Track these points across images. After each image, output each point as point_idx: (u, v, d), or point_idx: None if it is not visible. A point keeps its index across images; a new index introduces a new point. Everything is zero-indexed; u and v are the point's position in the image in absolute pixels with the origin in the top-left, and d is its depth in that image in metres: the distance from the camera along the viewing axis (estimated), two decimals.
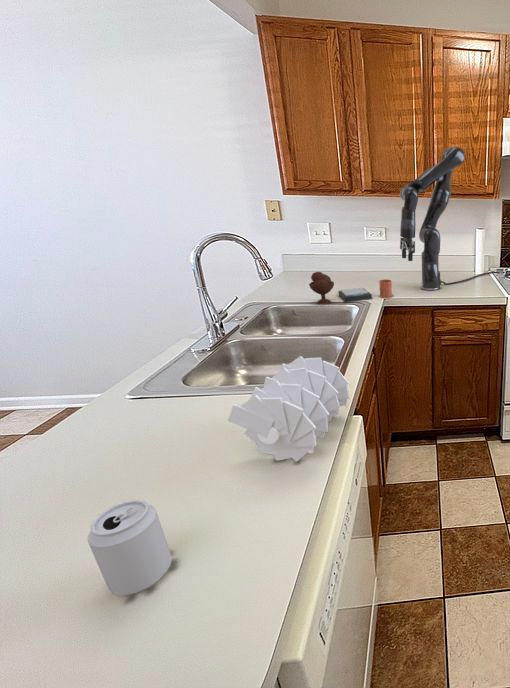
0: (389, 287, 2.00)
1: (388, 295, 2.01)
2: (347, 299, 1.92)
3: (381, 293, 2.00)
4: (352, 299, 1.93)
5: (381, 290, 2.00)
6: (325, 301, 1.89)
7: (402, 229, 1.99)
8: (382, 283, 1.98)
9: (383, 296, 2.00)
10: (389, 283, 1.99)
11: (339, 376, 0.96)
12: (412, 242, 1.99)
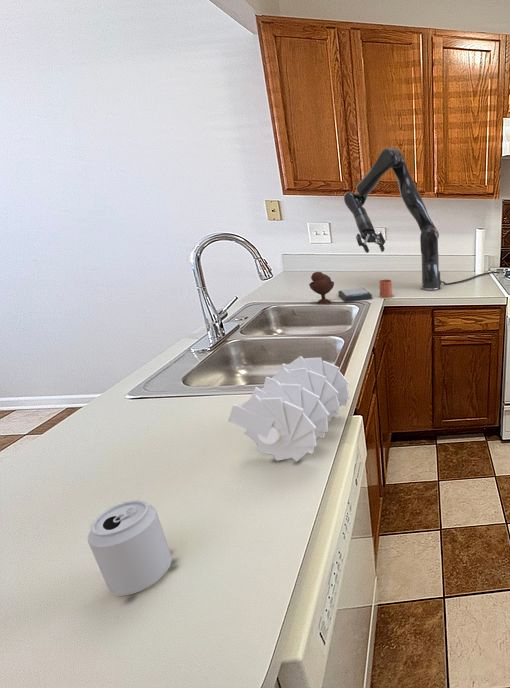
0: (389, 287, 2.00)
1: (388, 295, 2.01)
2: (347, 299, 1.92)
3: (381, 293, 2.00)
4: (352, 299, 1.93)
5: (381, 290, 2.00)
6: (325, 301, 1.89)
7: None
8: (382, 283, 1.98)
9: (383, 296, 2.00)
10: (389, 283, 1.99)
11: (339, 376, 0.96)
12: (356, 236, 2.01)
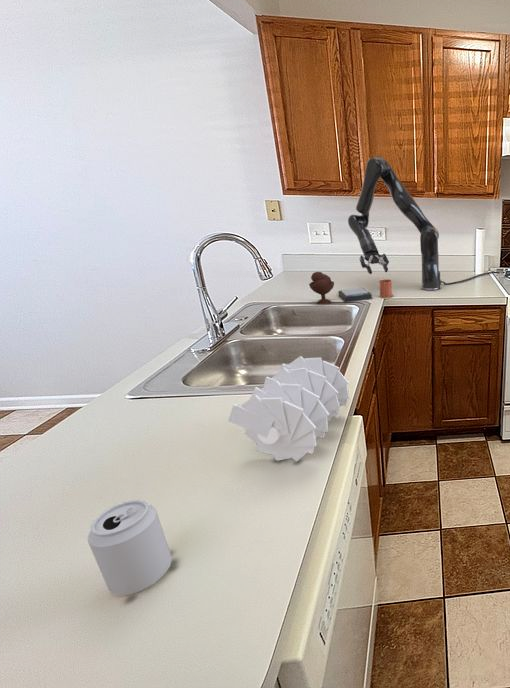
0: (389, 287, 2.00)
1: (388, 295, 2.01)
2: (347, 299, 1.92)
3: (381, 293, 2.00)
4: (352, 299, 1.93)
5: (381, 290, 2.00)
6: (325, 301, 1.89)
7: None
8: (382, 283, 1.98)
9: (383, 296, 2.00)
10: (389, 283, 1.99)
11: (339, 376, 0.96)
12: (360, 258, 2.03)
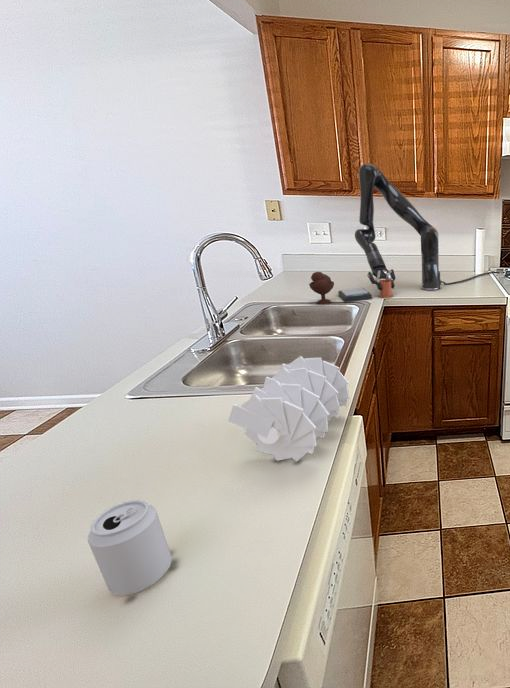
0: (389, 287, 2.00)
1: (388, 295, 2.01)
2: (347, 299, 1.92)
3: (381, 293, 2.00)
4: (352, 299, 1.93)
5: (381, 290, 2.00)
6: (325, 301, 1.89)
7: None
8: (382, 283, 1.98)
9: (383, 296, 2.00)
10: (389, 283, 1.99)
11: (339, 376, 0.96)
12: (368, 274, 1.99)
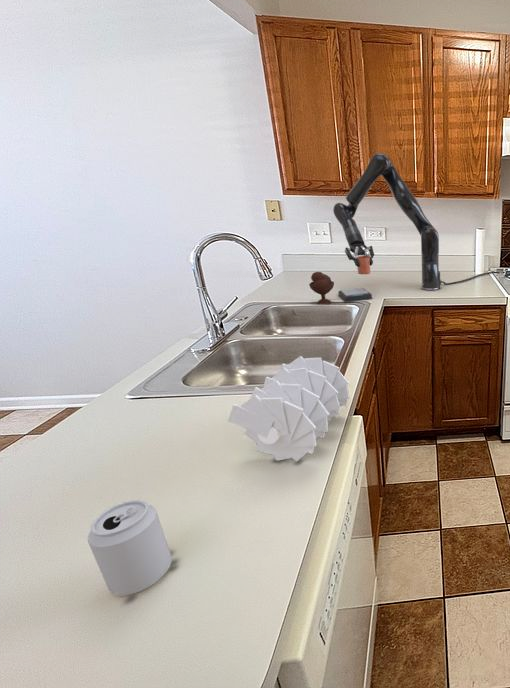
0: (367, 263, 1.94)
1: (366, 272, 1.95)
2: (347, 299, 1.92)
3: (359, 270, 1.94)
4: (352, 299, 1.93)
5: (359, 266, 1.94)
6: (325, 301, 1.89)
7: None
8: (359, 259, 1.92)
9: (361, 273, 1.94)
10: (367, 259, 1.93)
11: (339, 376, 0.96)
12: (345, 250, 1.93)
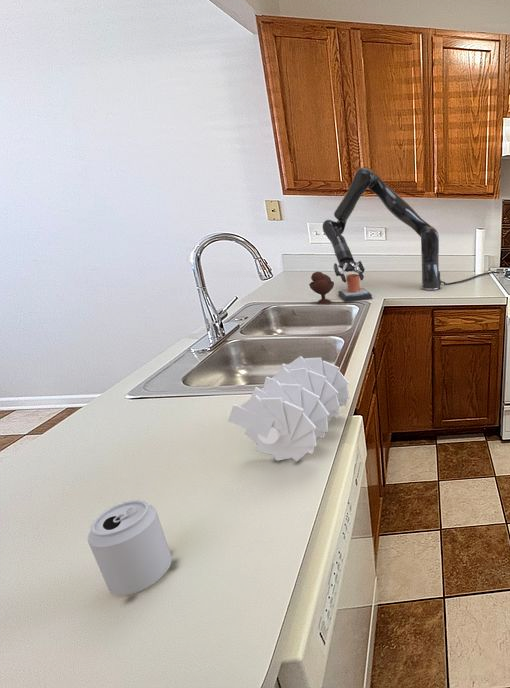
0: (356, 282, 1.96)
1: (355, 290, 1.97)
2: (347, 299, 1.92)
3: (348, 288, 1.96)
4: (352, 299, 1.93)
5: (348, 285, 1.96)
6: (325, 301, 1.89)
7: None
8: (349, 278, 1.94)
9: (350, 291, 1.96)
10: (356, 278, 1.95)
11: (339, 376, 0.96)
12: None
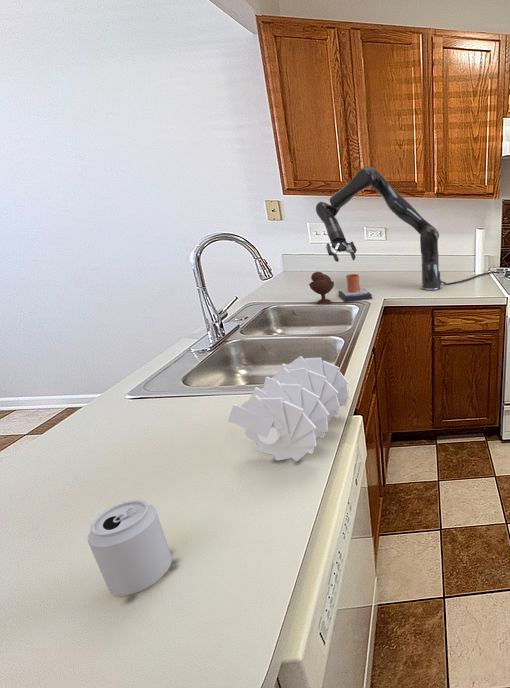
0: (356, 282, 1.96)
1: (355, 290, 1.97)
2: (347, 299, 1.92)
3: (348, 288, 1.96)
4: (352, 299, 1.93)
5: (348, 285, 1.96)
6: (325, 301, 1.89)
7: None
8: (349, 278, 1.94)
9: (350, 291, 1.96)
10: (356, 278, 1.95)
11: (339, 376, 0.96)
12: (326, 246, 2.02)
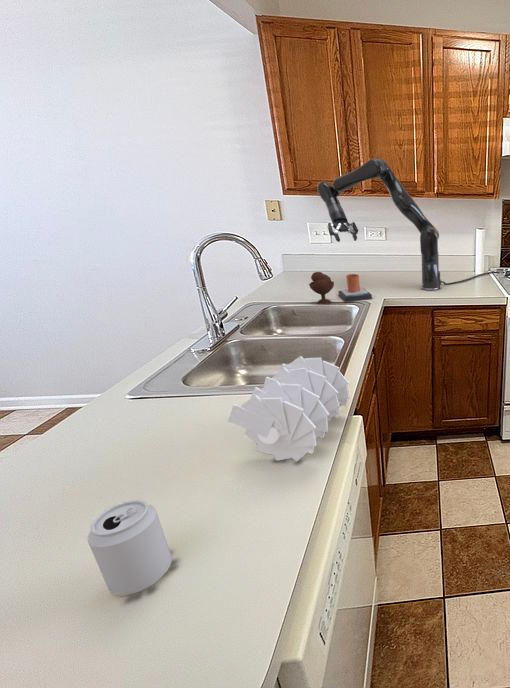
0: (356, 282, 1.96)
1: (355, 290, 1.97)
2: (347, 299, 1.92)
3: (348, 288, 1.96)
4: (352, 299, 1.93)
5: (348, 285, 1.96)
6: (325, 301, 1.89)
7: None
8: (349, 278, 1.94)
9: (350, 291, 1.96)
10: (356, 278, 1.95)
11: (339, 376, 0.96)
12: None
